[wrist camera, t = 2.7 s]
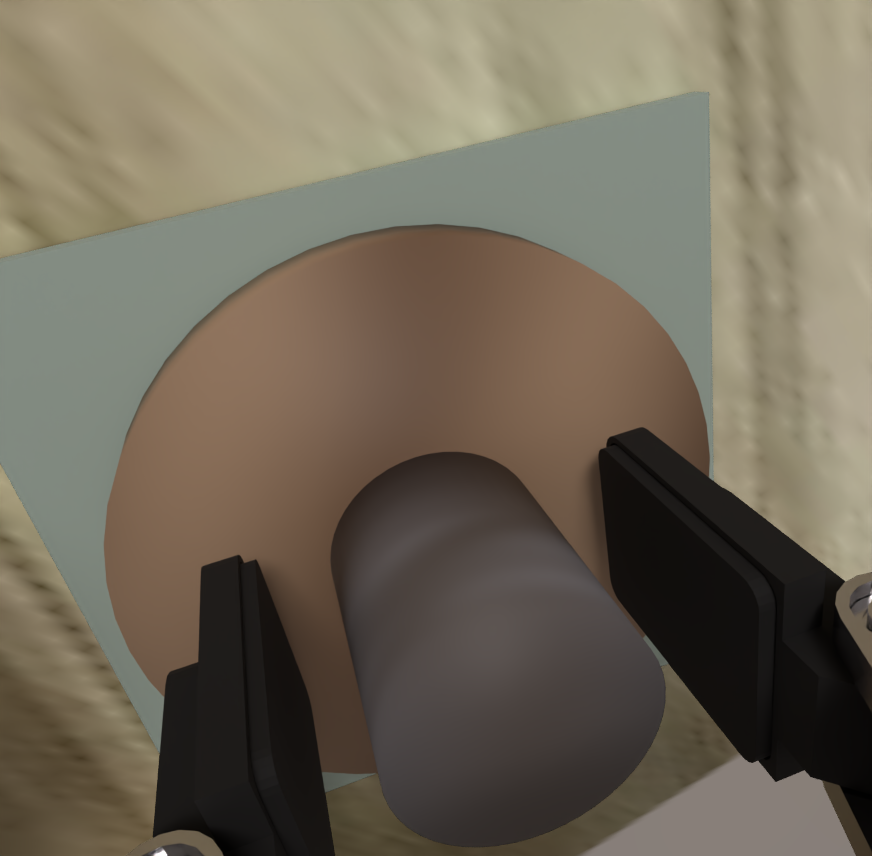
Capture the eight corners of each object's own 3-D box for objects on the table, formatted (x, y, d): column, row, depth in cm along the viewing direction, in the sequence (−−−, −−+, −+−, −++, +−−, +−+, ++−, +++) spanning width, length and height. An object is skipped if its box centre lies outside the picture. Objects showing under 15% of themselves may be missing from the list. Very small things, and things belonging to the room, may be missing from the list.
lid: (663, 152, 11) (952, 191, 7) (687, 630, 16) (867, 838, 11) (-10, 330, 10) (-198, 527, 5) (234, 800, 14) (241, 1112, 10)
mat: (693, 91, 11) (709, 92, 11) (704, 634, 17) (715, 645, 16) (-86, 278, 10) (-98, 285, 9) (205, 820, 15) (205, 837, 14)
